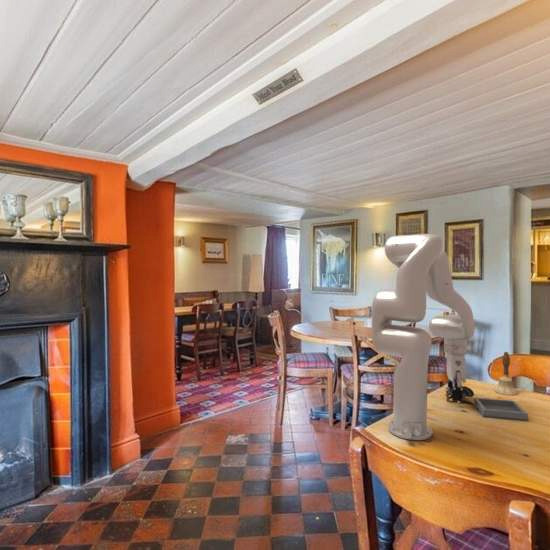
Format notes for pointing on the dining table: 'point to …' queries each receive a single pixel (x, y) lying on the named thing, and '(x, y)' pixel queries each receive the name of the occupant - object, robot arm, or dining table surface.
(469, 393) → the eagle figurine
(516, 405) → the holder
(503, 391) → the hand bell
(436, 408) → the dining table surface
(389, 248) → the robot arm
